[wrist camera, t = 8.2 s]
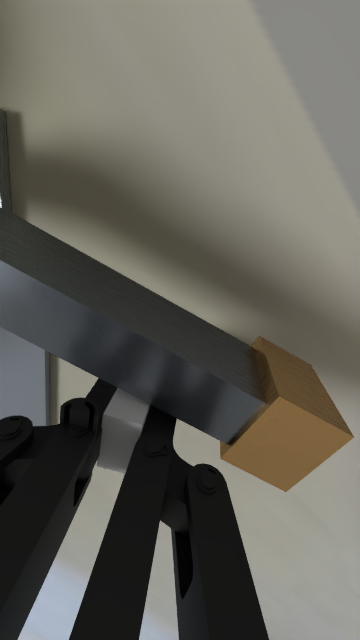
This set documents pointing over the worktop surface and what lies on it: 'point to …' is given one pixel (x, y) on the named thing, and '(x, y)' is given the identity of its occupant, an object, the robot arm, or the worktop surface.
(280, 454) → the bar
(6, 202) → the grey knob on base
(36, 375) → the plate
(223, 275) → the worktop surface
